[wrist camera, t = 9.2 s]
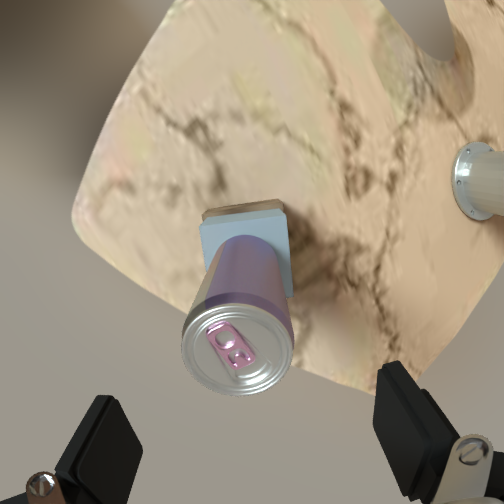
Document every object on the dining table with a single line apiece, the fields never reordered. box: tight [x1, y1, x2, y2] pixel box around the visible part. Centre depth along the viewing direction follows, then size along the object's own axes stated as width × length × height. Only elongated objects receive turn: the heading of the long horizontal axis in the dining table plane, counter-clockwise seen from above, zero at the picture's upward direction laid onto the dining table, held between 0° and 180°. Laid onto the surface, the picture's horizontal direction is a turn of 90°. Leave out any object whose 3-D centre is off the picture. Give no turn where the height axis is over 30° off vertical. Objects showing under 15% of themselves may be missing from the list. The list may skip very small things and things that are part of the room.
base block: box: [202, 199, 284, 221], centre depth 38 cm, size 9×9×6 cm
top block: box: [199, 208, 294, 298], centre depth 32 cm, size 8×8×6 cm
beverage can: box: [181, 235, 294, 396], centre depth 22 cm, size 6×6×15 cm
